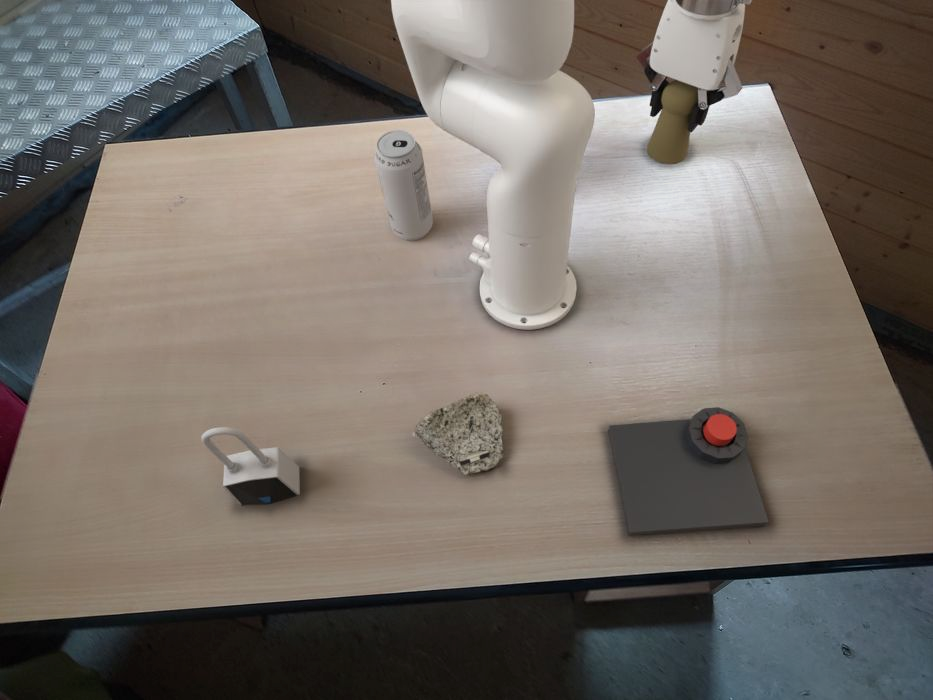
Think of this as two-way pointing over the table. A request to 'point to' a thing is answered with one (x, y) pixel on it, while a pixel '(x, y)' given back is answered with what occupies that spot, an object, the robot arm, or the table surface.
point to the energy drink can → (404, 184)
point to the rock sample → (465, 433)
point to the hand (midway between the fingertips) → (675, 117)
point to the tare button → (719, 430)
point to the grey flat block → (684, 477)
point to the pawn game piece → (673, 123)
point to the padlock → (255, 471)
